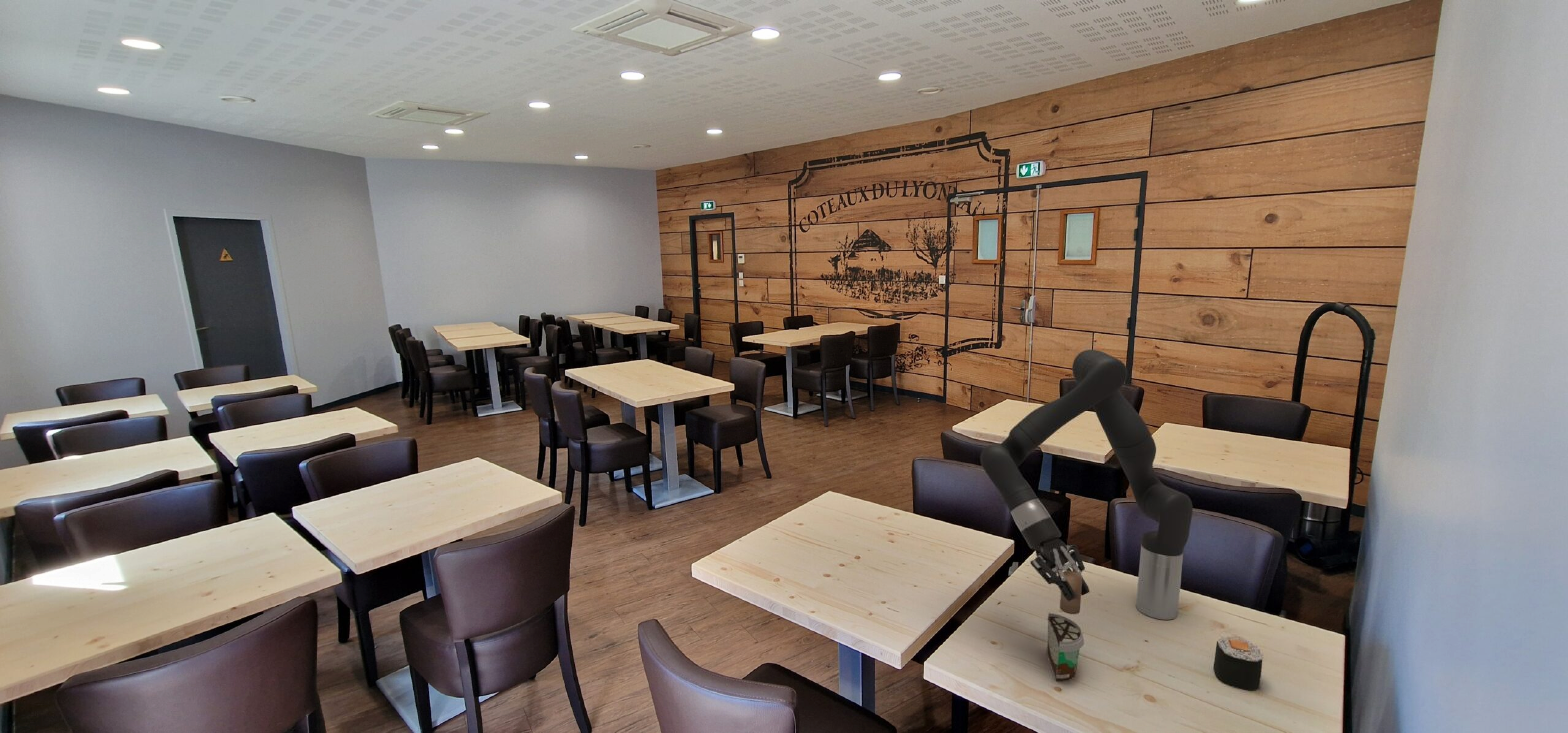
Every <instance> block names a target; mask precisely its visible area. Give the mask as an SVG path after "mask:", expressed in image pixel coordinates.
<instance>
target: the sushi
mask: <svg viewBox="0 0 1568 733" xmlns="http://www.w3.org/2000/svg"><path fill="white" fill-rule="evenodd" d="M1264 657H1265V656H1264V653H1262V652H1261V648H1258V645H1256V644H1255V645H1254V644H1253V642H1252V641H1251V642H1250V640H1248V639H1245V638H1242V637H1238V638H1237V637H1236V636H1235V637H1232V636H1229V635H1228V636H1221V637H1220V639H1218V641H1217V640H1216V646H1215V653H1214V660H1213V672H1214V676H1215V678H1216V679H1217V680H1218V681H1220V682H1221V683H1222V684H1225V685H1226V686H1229V687H1233V688H1236V689H1241V690H1246V691H1256V690H1257V691H1258V689H1259V687H1260V682H1261V677H1262V670H1263V660H1264Z"/></svg>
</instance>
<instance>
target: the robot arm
mask: <svg viewBox="0 0 1568 733" xmlns="http://www.w3.org/2000/svg"><path fill="white" fill-rule="evenodd" d="M1071 368H1072V376H1073V378H1074V380H1075V381H1076V383H1077V385H1076V386H1075V388H1073V389H1072V390H1070V391H1068V392H1067V393H1066V394H1064V395H1063V396H1061V397H1059V398H1057V399H1055V400H1052V401H1050V402H1048V403H1045V404H1043V405H1042V406H1039V407H1037V408H1035V409H1034V410H1032V411H1031V412H1030V413H1028V414H1027V415H1026V416H1025V417H1023V419H1021V420H1020V421H1019V422H1018V423H1017V424H1016V425H1015V426H1014V427H1012V428H1011V429H1010V431H1009V433H1008V436H1007V437H1006V438H1005V439H1004V440H1003V441H1002V442H1001V443H1000V444H999V445H998V444H990V445H988V446H985V447H984V448H983V449H982V450H981V454H980V458H979V460H980V464H981V467H982V468H983V470H984V471H985V473H986V474H987V476H988V478H989V479H990V480H991V482H992V484H993V485H994V486H995V487H996V489H997V490H998V492H999V494H1000V497H1001V499H1002V500H1003V502H1004V504H1005V505H1006V507H1007V509H1008V511H1009V512H1010V514H1011V516H1012V518H1013V521H1014V522H1015V525H1016V526H1017V528H1018V529H1019V531H1020V533H1021V535H1022V536H1023V538H1024V540H1025V542H1026V543H1027V545H1028V547H1029V549H1031V550H1034V551H1035V555H1036V557H1035V558H1033V559H1032V560H1030V561H1029V562H1030V565H1031V566H1032V567H1033V568H1034V570H1036V571H1037V573H1038V575H1040V576H1041V577H1042V578H1043V579H1044V581H1045V582H1046V583H1047V584H1048V585H1051V584H1054V585H1055V586H1057V587H1058V589H1059V590H1060V593H1061V592H1062V594H1063V595H1064V597H1065V598H1066V599H1067V600H1068V601H1071V600H1073V599H1075V598H1076V594H1075V593H1074V591H1073V589H1072V588H1071V586H1070V584H1069V583H1068V581H1065V580H1066V579H1065V576H1064V573H1063V572H1064V571H1073V572H1077V573H1079V574H1081V575H1082V573H1083V571H1084V570H1086V567H1085V564H1084V561H1083V560H1082V556H1081V554H1080V551H1079V548H1078V545H1076V544H1074V543H1073V544H1071V545H1066V543H1065V542H1064V541H1063V540H1062V539H1061V536H1062V532H1061V531H1060V529H1059V527H1058V526H1057V524H1056V522H1055V521H1054V520H1053V518H1052V517H1051V515H1050V513H1049V511H1048V510H1047V509H1046V507H1045V506H1044V505H1043V503H1042V502H1041V501H1040V499H1039V498H1038V496H1037V495H1036V493H1035V492H1034V490H1033V489H1032V487H1031V484H1029V482H1028V481H1027V480H1026V479H1025V477H1023V475H1022V473H1021V472H1020V469H1019V466H1021V464H1022V463H1023V462H1024V461H1025V460H1026V459H1027V458H1028V456H1029V455H1030V454H1031V453H1032V452H1034V450H1036V449H1037V448H1038V447H1039V446H1041V445H1042V444H1043V443H1044V442H1046V441H1047V439H1048V440H1049V438H1050V437H1051V436H1053V435H1054V434H1055V433H1056V432H1057V431H1058V430H1060V429H1061V428H1062V427H1064V426H1065V425H1066V424H1068V423H1069V422H1070V421H1072V420H1074V419H1075V418H1077V417H1078V416H1080V415H1081V414H1083V413H1085V412H1086V411H1088V410H1090V409H1091V408H1093V410H1094V412H1095V414H1096V418H1098V421H1099V423H1100V426H1101V427H1102V430H1103V432H1104V434H1105V436H1106V438H1107V441H1108V443H1109V444H1110V446H1111V448H1112V450H1113V452H1114V454H1115V456H1116V458H1117V459H1118V462H1119V464H1120V466H1121V468H1122V470H1123V472H1124V474H1125V476H1126V478H1127V480H1128V482H1129V485H1130V488H1131V491H1132V494H1133V497H1134V499H1135V503H1136V506H1137V507H1138V509H1139V511H1140V512H1141V513H1142V514H1143V515H1144V516H1145V517H1147V518H1149V519H1151V520H1152V521H1154V522H1156V523H1158V527H1157V530H1149V531H1146V532H1144V533H1143V534H1142V537H1141V543H1140V544H1141V546H1140V555H1139V557H1140V558H1139V568H1138V578H1137V590H1136V599H1135V600H1136V602H1135V607H1136V608H1137V610H1138V611H1139V612H1140V613H1142V614H1144V615H1145V616H1148V617H1150V618H1153V619H1156V620H1157V619H1158V620H1165V621H1166V620H1167V621H1168V620H1174V619H1176V618H1177V616H1178V611H1179V603H1180V602H1179V601H1180V593H1181V584H1182V571H1183V570H1182V569H1183V558H1184V550H1185V546H1186V544H1187V543H1188V540H1189V536H1190V530H1191V529H1190V528H1191V524H1192V518H1193V509H1194V508H1193V502H1192V500H1191V498H1190V497H1189V496H1188V495H1187V494H1185V493H1184V492H1181V491H1178V490H1176V489H1174V488H1171V487H1169V486H1167V485H1164V483H1163V482H1162V481H1161V480H1160V479H1159V477H1158V476H1157V475H1158V474H1157V473H1156V471H1155V469H1154V466H1153V464H1154V460H1155V459H1156V453H1157V446H1156V442H1155V440H1154V438H1153V436H1152V434H1151V432H1150V429H1149V427H1148V426H1147V424H1146V423H1145V421H1144V419H1143V418H1142V416H1141V415H1140V414H1139V413H1138V411H1136V409H1135V407H1133V406H1132V404H1131V403H1130V402H1129V401H1128V400H1127V399H1126V398H1125V397H1124V395H1123V394H1122V392H1121V390H1120V389H1121V388H1122V387H1123V386H1124V385H1125V383H1126V381H1127V379H1128V369H1127V366H1126V365H1125V363H1124V362H1123V361H1122V360H1121V359H1118V358H1116V357H1115V356H1112V355H1111V354H1108V353H1106V352H1104V351H1100V350H1097V349H1086V350H1083V351H1080V352H1079V353H1078V354H1077V355H1076V356H1075V358H1074V360H1073V362H1072V367H1071ZM1090 592H1091V591H1090V588H1089V586H1088V584H1087V582H1086V581H1085V579H1084V577H1083V576H1082V590H1081V596H1085V595H1087V594H1088V593H1090Z"/></svg>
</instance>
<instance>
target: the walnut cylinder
mask: <svg viewBox="0 0 1568 733" xmlns="http://www.w3.org/2000/svg"><path fill="white" fill-rule="evenodd" d="M1063 573H1064V576H1065V579H1066V580H1065V581H1068V583H1069V584H1070V586H1071V588H1072V589H1073V591H1074V593H1075V594H1076V598H1075V599H1073V600H1071V601H1068V600H1067V599H1066V598H1065V597H1064V595H1063V594H1062V592H1061V591H1060V601H1059V609H1060V611H1062V612H1063V613H1065V614H1069V615H1078V614H1080V612H1081V600H1082V595H1081V590H1082V577H1083V575H1082V574H1079V573H1077V572H1073V570H1072V571H1063Z"/></svg>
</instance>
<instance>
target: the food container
mask: <svg viewBox="0 0 1568 733" xmlns="http://www.w3.org/2000/svg"><path fill="white" fill-rule="evenodd" d="M1084 644H1085V638H1084V633H1083V631H1082V629H1081V627H1080V626H1079V625H1078V624H1077V623H1076V622H1075V621H1073V620H1072V619H1070V618H1068V617H1066V616H1063V615H1060V614H1057V613H1051V612H1048V614H1047V645H1046V655H1047V656H1046V657H1047V659H1048V662H1049V665H1050V668H1052V669H1051V671H1053V672H1052V674H1053V677H1054V680H1055V682H1068V681H1070V680H1073V679H1072V678H1075V676H1076V673H1077V666H1078V660H1079V654H1080V649H1081V648H1082V647H1083V646H1084Z"/></svg>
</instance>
